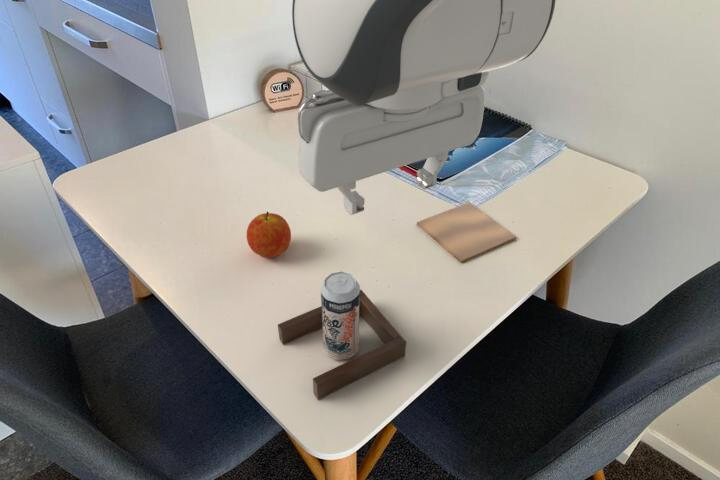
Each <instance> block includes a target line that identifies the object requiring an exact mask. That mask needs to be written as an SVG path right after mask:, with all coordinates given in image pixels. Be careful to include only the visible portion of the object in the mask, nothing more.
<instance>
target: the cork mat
mask: <svg viewBox="0 0 720 480" xmlns="http://www.w3.org/2000/svg"><path fill="white" fill-rule="evenodd" d="M416 225H417V226H418V227H419V228H420V229H422V230H423V231H424V232H425V233H426V234H427V235H429V236H430V237H431V239H433V240H434V241H435V242H437V243H438V244H439V245H440V246H441V247H442V248H443V249H444V250H445V251H447V252H448V253H449V254H450V255H452V257H454V258H455V259H456V260H457V261H458V262H459V263H460V264H464V263H465V262H467V261H469V260H471V259H474V258H476V257H478V256H481V255H483V254H485V253H488V252H490V251H492V250H495V249H496V248H500V247H501V246H504V245H506V244H508V243H510V242H512V241H515V240H517V236H516V235H514V234H513V233H512V232H510V231H509V230H508V229H506V228H505V227H504V226H503V225H501V224H500V223H499V222H497V221H496V220H494V219H493V218H491V217H490V216H489V215H488V214H487V213H485V212H484V211H482V210H481V209H480V208H478V207H477V206H476V205H474V204H473V203H471V202H467V203H466V202H465V203H464V204H461V205H459V206H458V205H457V206H456V207H453V208H451V209H447V210H445V211H443V212H440V213H437V214H435V215H432V216H429V217H427V218H424V219H421V220H418V221H416Z"/></svg>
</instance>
